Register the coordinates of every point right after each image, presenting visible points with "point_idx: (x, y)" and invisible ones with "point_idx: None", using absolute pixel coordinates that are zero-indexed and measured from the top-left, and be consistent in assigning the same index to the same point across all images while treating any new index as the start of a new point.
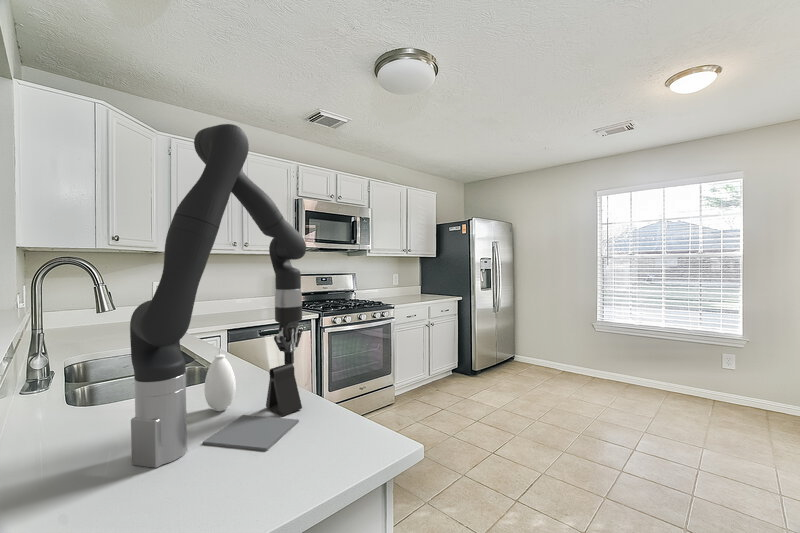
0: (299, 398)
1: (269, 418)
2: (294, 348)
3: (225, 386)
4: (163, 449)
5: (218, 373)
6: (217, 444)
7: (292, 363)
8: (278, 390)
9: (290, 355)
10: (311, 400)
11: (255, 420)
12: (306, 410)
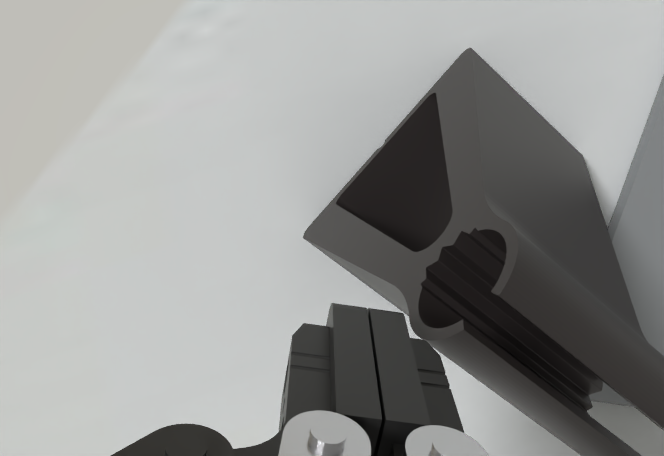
0: (478, 82)
1: (641, 222)
2: (339, 439)
3: None
4: None
5: None
6: None
7: (374, 309)
8: (613, 264)
9: (420, 404)
10: (258, 25)
11: (656, 296)
12: (473, 7)
